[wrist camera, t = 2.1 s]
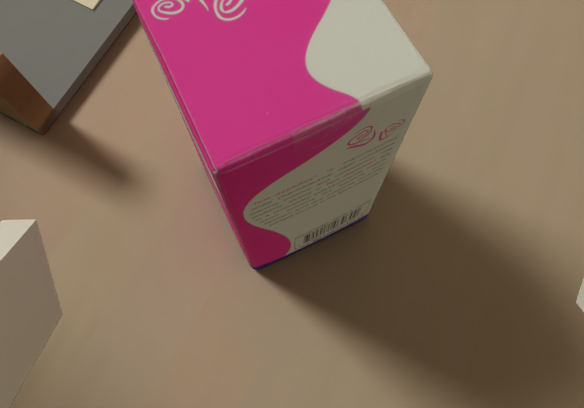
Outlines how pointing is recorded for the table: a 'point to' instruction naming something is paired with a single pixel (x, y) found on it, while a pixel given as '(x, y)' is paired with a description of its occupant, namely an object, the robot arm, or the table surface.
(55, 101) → the grey mat
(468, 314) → the table surface
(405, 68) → the supplement box
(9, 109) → the walnut corner walls
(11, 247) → the robot arm
